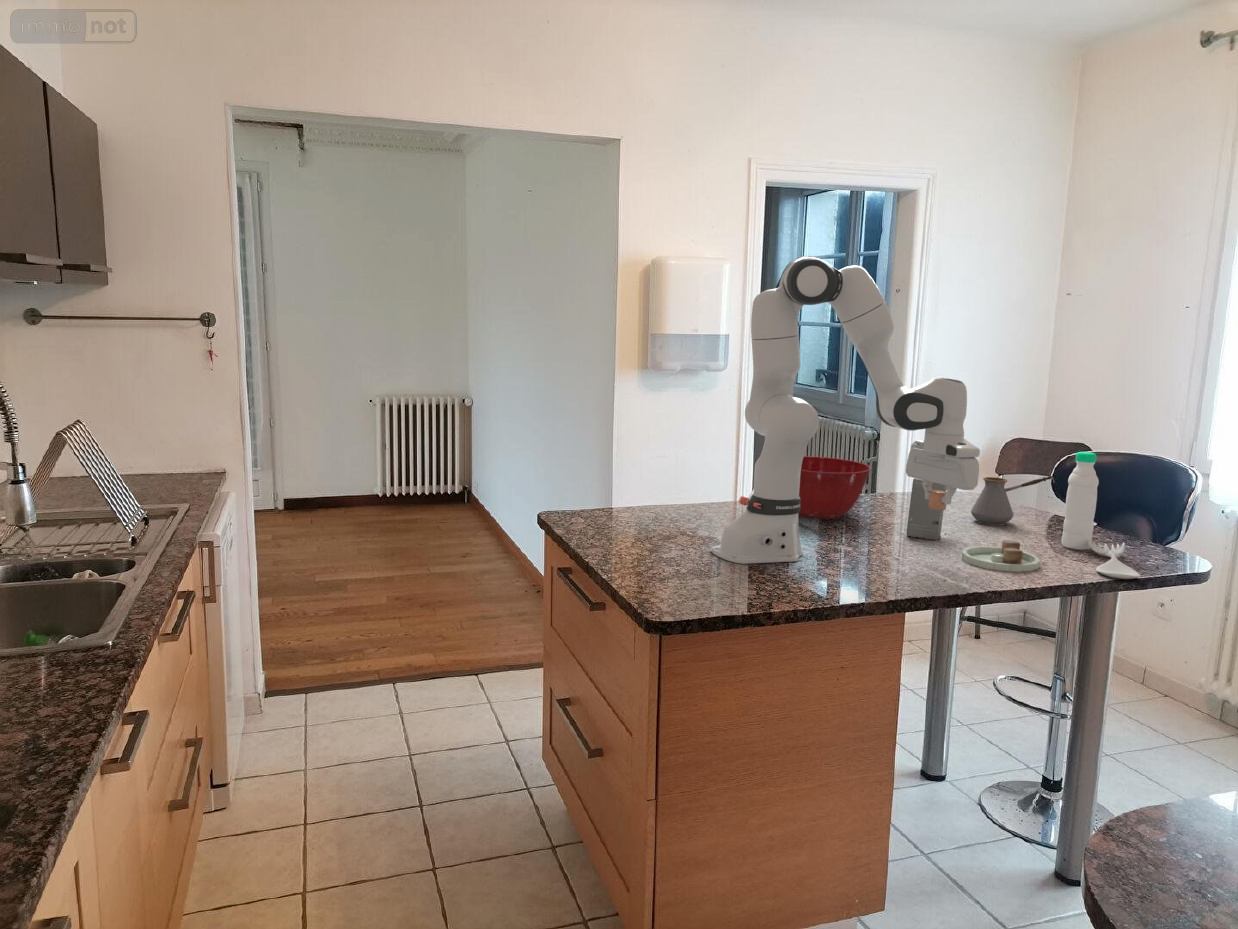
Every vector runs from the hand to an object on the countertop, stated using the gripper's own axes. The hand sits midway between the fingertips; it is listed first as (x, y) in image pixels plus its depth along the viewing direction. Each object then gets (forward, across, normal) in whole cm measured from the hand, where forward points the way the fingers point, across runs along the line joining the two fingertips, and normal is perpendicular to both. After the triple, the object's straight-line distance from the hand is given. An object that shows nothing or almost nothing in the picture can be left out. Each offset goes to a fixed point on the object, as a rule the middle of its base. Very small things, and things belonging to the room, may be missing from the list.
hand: (937, 501), depth 219 cm
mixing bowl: (+15, -51, +4) cm, 53 cm away
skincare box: (+14, -19, +16) cm, 28 cm away
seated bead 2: (+13, +15, +10) cm, 22 cm away
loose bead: (+2, 0, 0) cm, 2 cm away
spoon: (+14, +21, +36) cm, 44 cm away
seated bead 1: (+13, +9, +16) cm, 22 cm away
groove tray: (+14, +10, +11) cm, 21 cm away
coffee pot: (+14, -22, +50) cm, 57 cm away
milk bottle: (+14, +4, +46) cm, 48 cm away
